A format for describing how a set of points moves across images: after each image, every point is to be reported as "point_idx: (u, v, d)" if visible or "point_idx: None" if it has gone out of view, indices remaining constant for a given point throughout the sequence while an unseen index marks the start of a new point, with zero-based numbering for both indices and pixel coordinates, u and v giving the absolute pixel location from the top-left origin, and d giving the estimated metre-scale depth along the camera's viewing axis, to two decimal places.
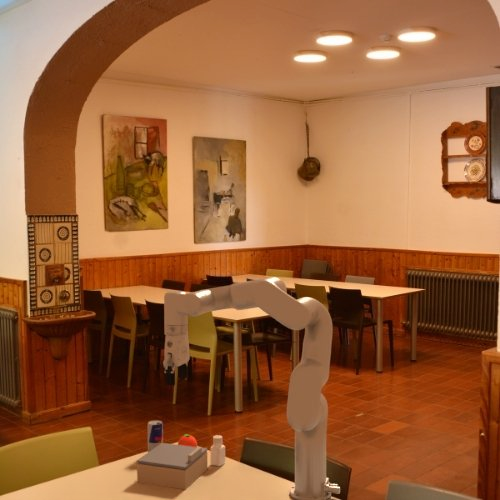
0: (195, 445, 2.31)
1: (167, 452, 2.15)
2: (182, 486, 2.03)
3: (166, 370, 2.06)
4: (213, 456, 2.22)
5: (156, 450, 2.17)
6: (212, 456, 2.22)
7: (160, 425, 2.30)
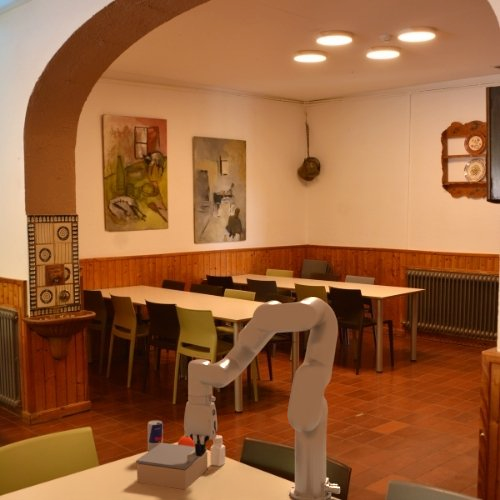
0: None
1: (166, 452, 2.15)
2: (182, 486, 2.03)
3: (207, 440, 2.09)
4: (213, 456, 2.22)
5: (155, 450, 2.17)
6: (212, 456, 2.22)
7: (160, 425, 2.30)
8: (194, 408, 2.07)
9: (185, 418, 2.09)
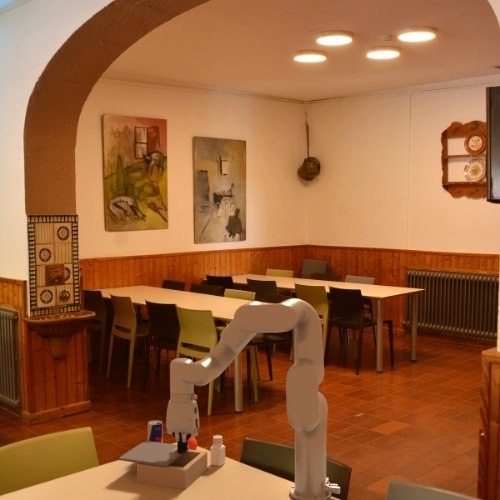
0: (195, 445, 2.31)
1: (149, 449, 2.18)
2: (182, 486, 2.03)
3: (189, 438, 2.11)
4: (213, 456, 2.22)
5: (139, 448, 2.19)
6: (212, 456, 2.22)
7: (160, 425, 2.30)
8: (176, 406, 2.09)
9: (167, 416, 2.11)
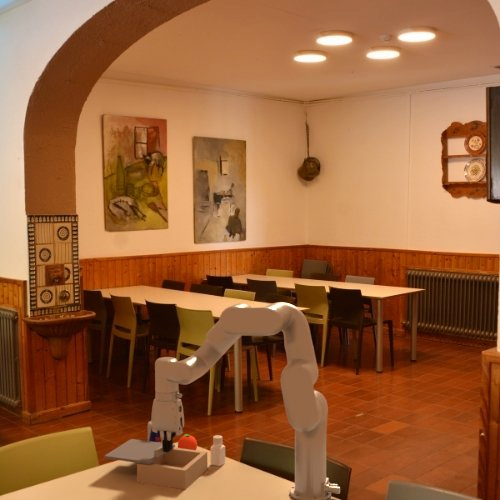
0: (195, 445, 2.31)
1: (135, 447, 2.19)
2: (182, 486, 2.03)
3: (174, 436, 2.13)
4: (213, 456, 2.22)
5: (124, 446, 2.21)
6: (212, 456, 2.22)
7: None
8: (161, 405, 2.11)
9: (152, 414, 2.13)
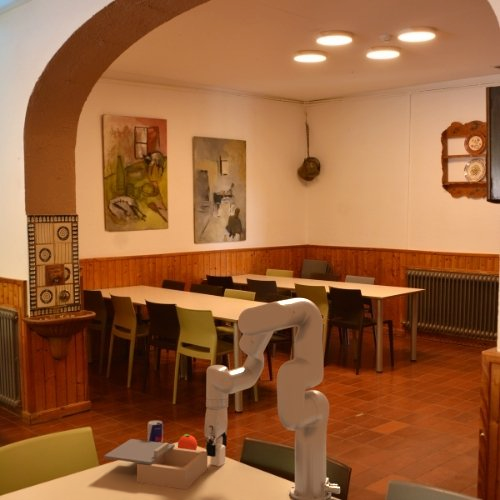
0: (195, 445, 2.31)
1: (135, 447, 2.19)
2: (182, 486, 2.03)
3: None
4: None
5: (124, 446, 2.21)
6: None
7: (160, 425, 2.30)
8: (223, 410, 2.21)
9: (217, 424, 2.19)
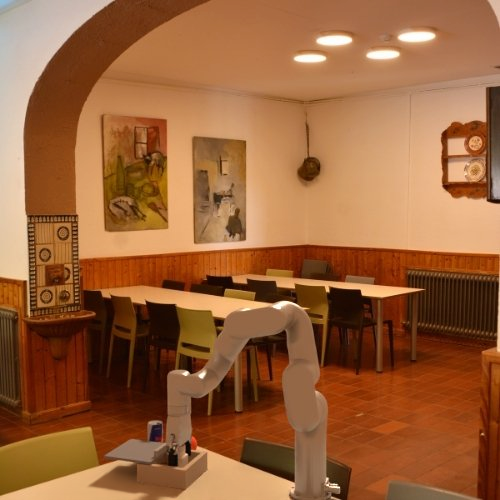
0: (195, 445, 2.31)
1: (135, 447, 2.19)
2: (182, 486, 2.03)
3: None
4: None
5: (124, 446, 2.21)
6: None
7: (160, 425, 2.30)
8: (185, 417, 2.10)
9: (179, 432, 2.07)
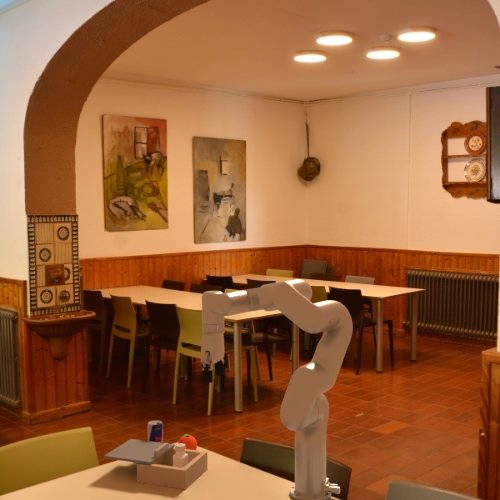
0: (195, 445, 2.31)
1: (135, 447, 2.19)
2: (182, 486, 2.03)
3: None
4: (176, 465, 2.11)
5: (124, 446, 2.21)
6: (175, 465, 2.11)
7: (160, 425, 2.30)
8: (219, 336, 2.17)
9: (214, 349, 2.14)
